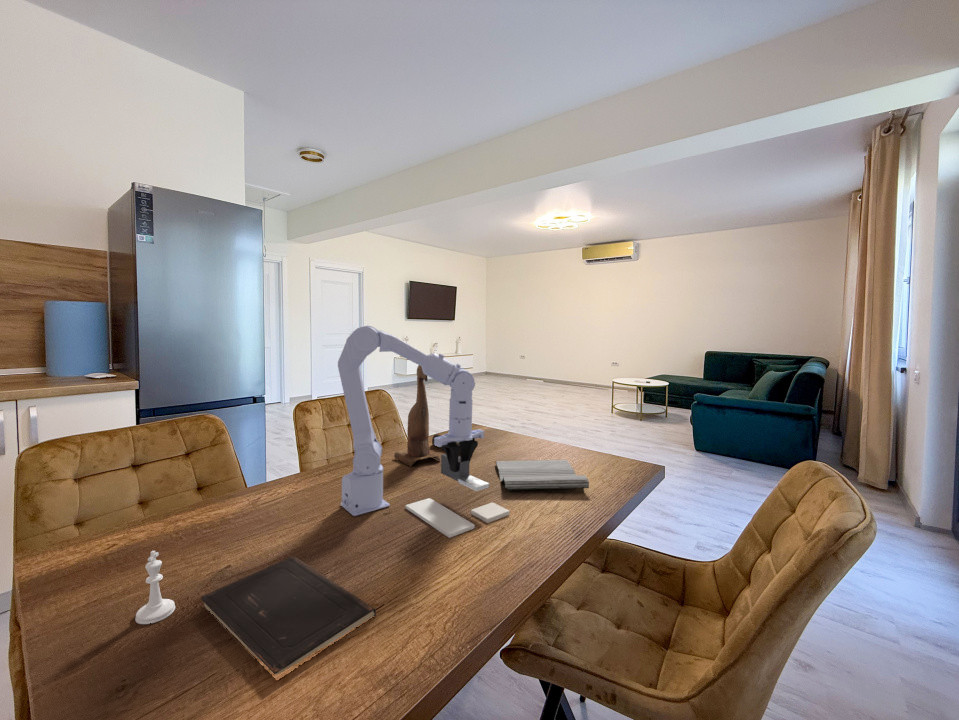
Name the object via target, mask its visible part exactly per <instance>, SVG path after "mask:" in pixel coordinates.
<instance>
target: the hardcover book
mask: <svg viewBox="0 0 959 720" xmlns="http://www.w3.org/2000/svg"><path fill="white" fill-rule="evenodd" d="M200 600H201V601H202V602H204V603H203V604H204V608H205V609H206V610H207V612H209V611H210V612H209V613H210V614H211V615H212V614H213V615H214V616H215V617H216V618H217V619H218V620H219V621H220V622H221V623H222V624H223V625H224V626H225V627H226V628H227V629H228V630H229V631H230V632H231V633H232V634H233V635H234V636H235V637H236V638H237V639H238V640H239V641H240V642H241V643H242V644H243V645H244V646H245V647H246V648H247V649H248V650H249V651H251V653H252V654H253V655H255V656H256V657H257V658H258V659H259V660H260V661H262V662H263V663H264V664H265V665H266V666H267V667H268V668H269V669H270V670H271V671H272V672H273V673H274V674H279V673H281V672H283V671H285V669H287V668H288V669H289V667H291V666H293V665H295V664H297V663H299V662H300V661H302V660H303V659H304V658H306V657H307V656H309V655H311V654H312V653H314V652H315V651H317V650H319V649H320V648H323V647H325V646H326V645H328V644H329V643H331V642H333V641H335V640H336V639H338V638H339V637H341V636H343V635H344V634H346V633H347V632H349V631H350V630H352V629H353V628H355V627H357V626H358V625H360V624H362V623H363V622H365V621H366V620H368V619H370V618H371V617H373V616H376V614H377V611H376V608H374V607H373V606H371V605H369V604H368V603H367V602H365V601H364V600H362V599H360V598H359V597H357V596H356V595H354V594H353V593H351V592H350V591H348V590H347V589H345V588H344V587H342V586H340V585H339V584H338V583H336V582H335V581H333V580H331V579H330V578H329V577H327V576H326V575H324V574H322V573H321V572H319V571H318V570H316V569H315V568H313V567H312V566H310V565H309V564H307V563H305V561H303V560H302V559H300V558H298V557H297V556H295V555H294V556H290V557H288V558H285V559H284V560H282V561H279V562H277V563H275V564H272V565H270V566H268V567H266V568H263V569H261V570H259V571H257V572H253V574H249V575H247V576H245V577H243V578H240V579H239V580H237V581H236V580H235V581H234V582H231V583H230V584H227V585H225V586H223V587H220V588H219V589H218V588H217V589H216V590H214V591H212V592H209V593H207V594H204V595H202V596H201V597H200ZM213 615H212V616H213ZM214 616H213V617H214ZM215 617H214V618H215ZM216 618H215V619H216ZM217 619H216V620H217ZM218 620H217V621H218ZM219 621H218V622H219ZM220 622H219V623H220ZM221 623H220V624H221ZM222 624H221V625H222ZM223 625H222V626H223ZM224 626H223V627H224ZM225 627H224V628H225ZM226 628H225V629H226Z"/></svg>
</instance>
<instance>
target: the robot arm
mask: <svg viewBox="0 0 959 720" xmlns="http://www.w3.org/2000/svg"><path fill="white" fill-rule="evenodd" d="M377 348H379V350H378V351H379V353H383V352H386V353H387V352H388V353H389V352H393V353H395V354H396V355H399V356H400V357H402V358H404V359H406V360H408V361H411V362H412V363H415V364H416V365H417V366H418V365H420V366H421V367H422V371H423V373H424V374H425V375H427V377H429V378H431V379H433V380H435V381H437V382H438V383H440V384H442V385H444V386H449V387H450V397H449V410H448V411H449V413H448V414H449V415H448V419H449V420H448V432H447V433H445V434H442V436H439V437H435V438H434V445H435V446H437V447H443V451H444V452H445V453H444V454H446V456H447V458H448V462H449V466H450V470H451V471H453V472H457V469H458V458H459V456H460V457H462V458H465V459H467V460H469V464H470V463H471V460H472V457H473V455H474V452H475V450H476V449H477V448H478V446H479V441H477V439H484V438H485V430H484V429H483V430H482V429H480V428H478V429H472V428H473V427H472V426H473V425H472V423H473V421H472V420H473V391H474V389H475V387H476V382H475V378H474V376H473V374H471V373H470V372H469V371H468V369H467V370H466V369H465V368H464V367H462V366H461V364H459V363H456V364H455V363H454V362H452V361H449V360H447V359H446V358H445V355H444V354H442V353H441V352H440V353H438V354H437V353H435V352H433V353H430V354H426V353H425V352H422V351H421V350H419V349H418V348H415V347H414V346H412V345H411V344H409V343H408V342H405V341H404V340H403V339H400V338H399V337H398V336H395V335H394V334H392V333H389V332H386V331H383V330H381V329H380V330H378V329H377V328H376V327H374V326H371V325H364V326H360V327H357V328H356V329H354V331H353V332H351V334H350V335H349V336H348V337H347V338H346V341H345V343H344V347H343V349H342V351H341V354H340V355H339V357H338V360H337V369H338V373H339V377H340V382H341V387H342V391H343V395H344V399H345V405H346V409H347V414H348V419H349V422H350V426H351V431H352V437H353V439H352V440H353V449H354V457H353V459H352V465H353V468H352V471H351V472H349V473H347V474H345V475H343V476H342V478H341V502H340V506H341V507H342V508H343V509H345V510H346V511H347V512H348V513H349V514H351V516H353V517H357V516H360V515H364V514H368V513H371V512H374V511H376V510H380V509H384V508H389V507H390V505H391V504H390V503H389V502H387V501H386V500H385V499H384V466H383V465H382V463H381V460H382V459H381V457H382V454H383V447H382V444H381V443H380V441H378V439H377V436H376V433H375V431H374V428H373V423H372V420H371V415H370V410H369V405H368V399H367V397H366V391H365V387H364V383H363V378H362V373H361V365H362V363H363V362H364V361H365V360H366V358H367V357H368V356H369V355H371V354H372V353H373V352H375V351H376V350H377ZM456 443H459V445H460V447H459V446H457V444H456ZM434 445H433V446H434ZM435 446H434V447H435ZM437 447H436V448H437ZM460 451H461V454H459V453H460Z"/></svg>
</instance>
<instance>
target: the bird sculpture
mask: <svg viewBox="0 0 959 720" xmlns="http://www.w3.org/2000/svg"><path fill="white" fill-rule="evenodd" d="M416 381H417V383H416V384H417V386H416V387H417V389H416V400H415V401H416V402H415V403H414V404H413V405H412V407H411V408H410V410H409V412H408V415H407V442H406V444H407V447H406V448H407V449H405V450H398V451H395V453H394V455H393V457H395V460H397V459H398V460H400V461H402V462H404V463H405V464H407V465H406V466H408V465H409V467H410V468H412V466H413V464H415V463H416V461H418V460H423V459H427V458H433V459H435V460H437V461H439V462H441V456H440V455H438V454H435V453H433V452H431V451H430V443H429V438H430V416H429V415H430V414H429V405H428V399H427V391H426V384H425V382H428V376H427V375H425V374H424V373H423V371H422V367H421V366H420V365H418V364H417V367H416ZM398 460H397V461H398ZM402 462H401V463H402ZM404 463H403V464H404ZM405 464H404V465H405Z"/></svg>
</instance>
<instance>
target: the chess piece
mask: <svg viewBox="0 0 959 720" xmlns="http://www.w3.org/2000/svg"><path fill="white" fill-rule="evenodd" d="M159 555H160V553H159V552H156V550H152V551H150V556H149V557H148V558H147V563H146V564H145V566H144V567H145V570H146V571H147V573H148V575H149V576H148V577H146V579H145V584H150V585H149V586H150V587H149V596H148V603H147V604H144V605H143V606H141V607H140V608H139V609H138V610H137V611H136V614H135V618H134V619H135V622H136V623H137V624H139V625H150V623H151V624H154V623H157V622H160V621H163V620H165V619H166V618H168V617H169V616H170V615H172V613H174V611H175V610H176V605H175V601H174V600H172V599H169V598H162V594H161V589H160V584H159V582H160V581H161V580H163V578H164V576H163V574H161V573H160V571H161V570H160V569H161V567H162V565H163V564H162V563H163V561H162V560H160V559H159V560H158V559H157V557H159Z"/></svg>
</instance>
